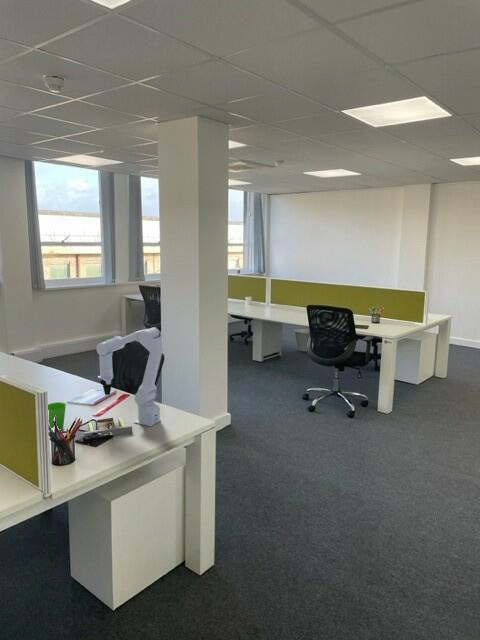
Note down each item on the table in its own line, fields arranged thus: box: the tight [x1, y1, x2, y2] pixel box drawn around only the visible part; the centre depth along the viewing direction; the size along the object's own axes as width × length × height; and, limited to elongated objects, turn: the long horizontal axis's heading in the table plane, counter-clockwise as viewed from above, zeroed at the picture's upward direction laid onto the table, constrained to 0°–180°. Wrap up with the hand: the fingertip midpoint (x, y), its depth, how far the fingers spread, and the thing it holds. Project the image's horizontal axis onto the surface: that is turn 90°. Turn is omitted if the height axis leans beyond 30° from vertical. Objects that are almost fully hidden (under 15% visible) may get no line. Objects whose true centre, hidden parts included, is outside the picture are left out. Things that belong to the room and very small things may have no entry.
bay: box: [83, 417, 133, 438], centre depth 209 cm, size 14×20×3 cm
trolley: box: [96, 417, 117, 430], centre depth 209 cm, size 10×7×4 cm
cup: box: [47, 401, 67, 430], centre depth 209 cm, size 9×9×11 cm
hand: (107, 394), depth 225 cm, fingers closed
